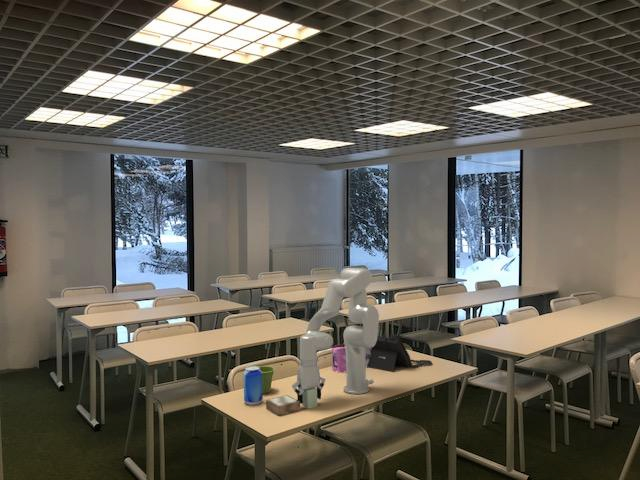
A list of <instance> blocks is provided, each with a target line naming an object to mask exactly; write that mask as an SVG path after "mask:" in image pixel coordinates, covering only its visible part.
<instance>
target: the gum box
mask: <svg viewBox="0 0 640 480" xmlns="http://www.w3.org/2000/svg"><path fill="white" fill-rule="evenodd" d="M363 348H364V347H363ZM364 351H365V357H366V366H368V362H369V359H370V356H371V348H364ZM332 369H333V370H332ZM331 370H332V371H334V370H335V371H334V372H336V371H338V372H337V373H339V372H342V373H345V372H344V371H346V348H345V343H342V344H337V345H332V346H331Z"/></svg>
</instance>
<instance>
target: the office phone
mask: <svg viewBox="0 0 640 480" xmlns="http://www.w3.org/2000/svg"><path fill="white" fill-rule="evenodd" d="M413 363H416V364H413ZM432 364H433V362H432V360H428V359H425V360H424V359H419V360H416V359H411V356H410V354H409V352H408V350H407V348H406V346H405V345H404V343H403V342H402V340H401V338H400V336H399V335H397V334H395V333H391V334H390V335H389V336H388V337H387V336H381V335H378V336H377V342H376V344H375V346H374V347H372V348H371V356H370V359H369V362H368V367H367V368H373V369H377V370H378V369H379V370H384V371H387V372H393V373H394V369H395V365H400V366H406V367H408V368H412V369H413V368H418V367H423V366H430V365H432Z"/></svg>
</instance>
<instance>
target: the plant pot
mask: <svg viewBox="0 0 640 480" xmlns="http://www.w3.org/2000/svg"><path fill="white" fill-rule="evenodd" d="M258 367H260V370H261V372H262V395H264V394H268V393H269V392H271V389H272V381H273V376H274V371H275V370H276V369H275V367H274V366H270V365H261V366H260V365H259V366H258Z"/></svg>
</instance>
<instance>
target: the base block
mask: <svg viewBox="0 0 640 480" xmlns="http://www.w3.org/2000/svg"><path fill="white" fill-rule="evenodd" d="M265 406H266V407H265V409H266V410H267V411H269V412H271V413H272V414H274V415H276V416H278V417H280V416H285V415H288V414H292V413H295V412H299V411H301V403H300V401H298V400H297V399H296V398H295V397H292V396H290V395H288V394H285V395H282V396H278V397H274V398H270V399H266V400H265Z"/></svg>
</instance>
